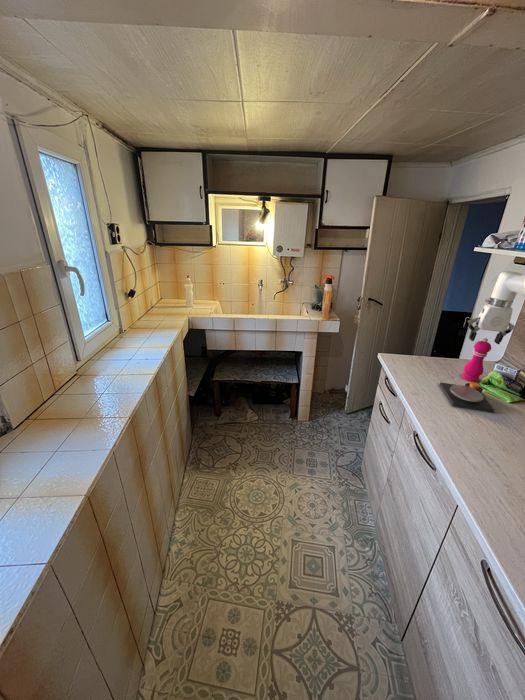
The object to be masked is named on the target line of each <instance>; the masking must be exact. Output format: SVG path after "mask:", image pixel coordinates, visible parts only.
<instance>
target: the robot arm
mask: <svg viewBox="0 0 525 700" xmlns="http://www.w3.org/2000/svg"><path fill="white" fill-rule="evenodd" d="M517 294H519V295H521V296H525V274H523V273H522V272H517V271H511V270H509V271H508V270H507V271H506V270H505V271H502V272H500V273H499V275H498V277H497V279H496V282H495V285H494V287H493V290H492V292H491V294H490V297H489V298H486V299H485V300H484V302H485V303H486V304H485V305H484V306H483V307H482V309H481V311H480V312H479V314H478V317H475V318H472V319H469V320H467V325H468V328H469V329H470V334H469V336H468V339H469V340H470V341H471V342H474V341H475V339H476V337H477V335H478V333H477V332H478V331H479V330H483V331H489V332H497V333H496V336H495V338H494V341H493V342H494V343H495V344H497V345H500V344H501V342H502V340H503V339H504V337H506V336H507V335H508V334H510V333H511V332H512V331H513V330H514V329H516V325H515V324H513V323H512V322H511V319H512V316H513V308H512V305H513V303H514V301H515V299H516V297H517ZM473 324H475V325H473Z"/></svg>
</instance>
